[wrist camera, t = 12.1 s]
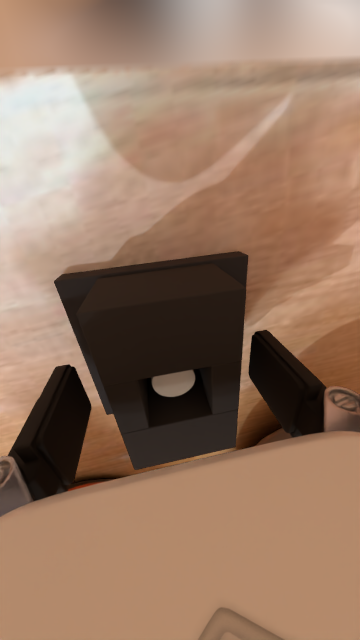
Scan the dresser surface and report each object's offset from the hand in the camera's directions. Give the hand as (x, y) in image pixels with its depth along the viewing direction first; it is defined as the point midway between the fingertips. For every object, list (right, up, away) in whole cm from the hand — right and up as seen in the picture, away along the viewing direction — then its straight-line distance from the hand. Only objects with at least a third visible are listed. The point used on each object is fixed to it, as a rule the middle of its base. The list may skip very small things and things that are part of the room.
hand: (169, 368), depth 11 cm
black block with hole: (0, +1, +2) cm, 2 cm away
